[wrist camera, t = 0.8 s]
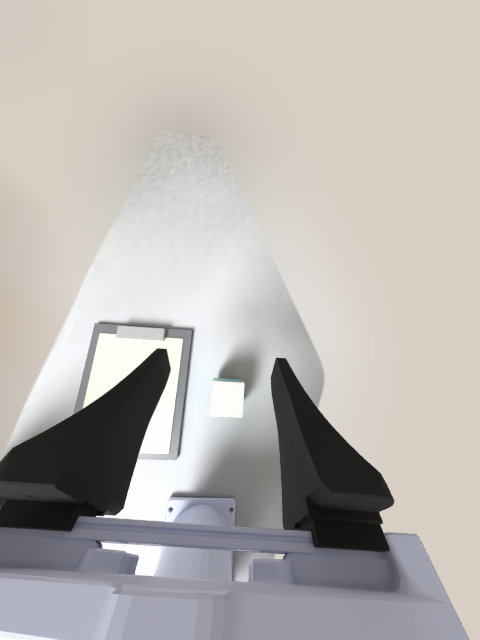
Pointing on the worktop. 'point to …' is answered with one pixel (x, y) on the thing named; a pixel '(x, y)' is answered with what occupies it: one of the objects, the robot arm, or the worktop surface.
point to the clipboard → (121, 359)
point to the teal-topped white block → (227, 398)
